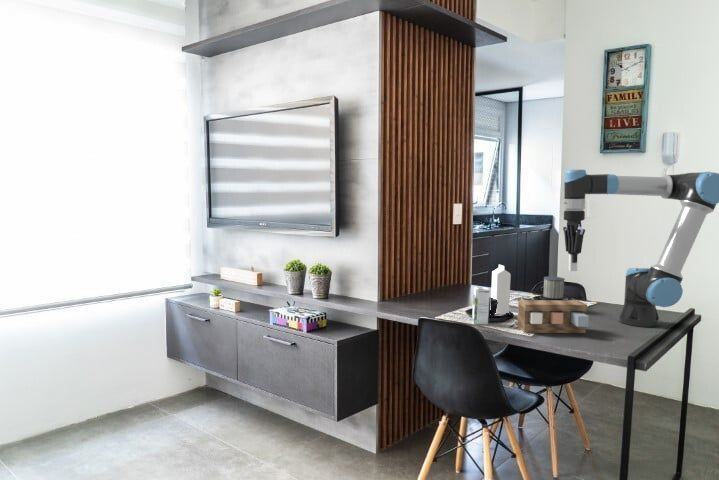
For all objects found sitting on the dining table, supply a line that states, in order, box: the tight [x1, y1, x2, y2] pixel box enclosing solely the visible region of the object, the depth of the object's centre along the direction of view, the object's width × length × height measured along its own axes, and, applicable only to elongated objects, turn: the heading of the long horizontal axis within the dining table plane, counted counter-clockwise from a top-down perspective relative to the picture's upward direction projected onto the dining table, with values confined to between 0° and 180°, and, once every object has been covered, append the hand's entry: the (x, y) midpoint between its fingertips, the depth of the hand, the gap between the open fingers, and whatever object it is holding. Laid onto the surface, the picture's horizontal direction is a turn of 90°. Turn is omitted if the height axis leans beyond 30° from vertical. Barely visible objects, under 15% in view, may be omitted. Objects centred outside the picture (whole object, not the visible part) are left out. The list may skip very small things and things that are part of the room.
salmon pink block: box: [549, 311, 563, 324], centre depth 214 cm, size 4×9×4 cm, turn 3°
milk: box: [490, 264, 512, 314], centre depth 238 cm, size 6×6×22 cm
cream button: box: [529, 311, 543, 324], centre depth 214 cm, size 4×9×4 cm, turn 3°
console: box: [516, 299, 588, 334], centre depth 216 cm, size 24×8×11 cm, turn 93°
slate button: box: [570, 311, 590, 328], centre depth 210 cm, size 4×9×4 cm, turn 3°
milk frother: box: [525, 275, 566, 300], centre depth 253 cm, size 14×16×15 cm
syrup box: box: [471, 286, 491, 325], centre depth 225 cm, size 6×6×14 cm
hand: (572, 270), depth 215 cm, fingers closed
